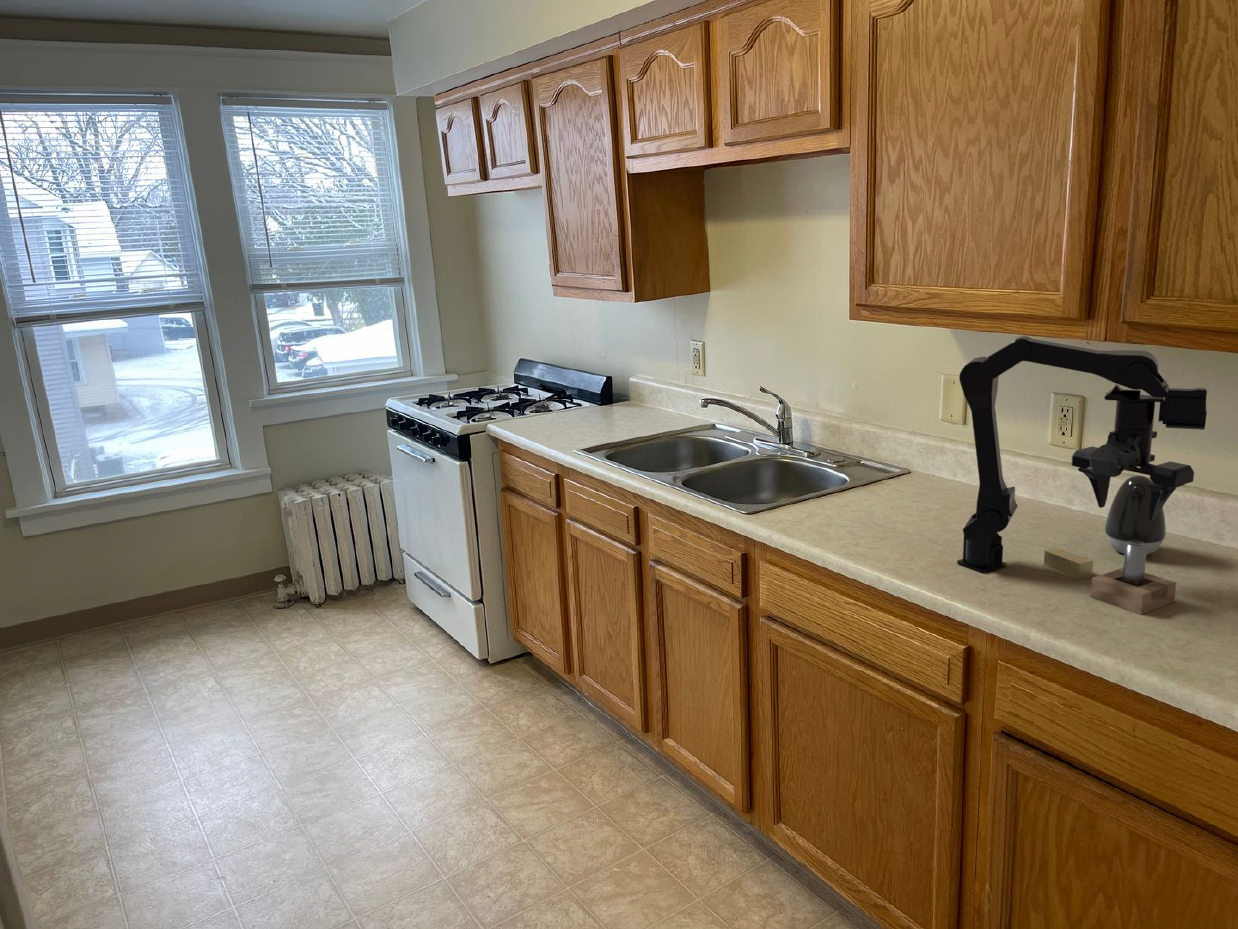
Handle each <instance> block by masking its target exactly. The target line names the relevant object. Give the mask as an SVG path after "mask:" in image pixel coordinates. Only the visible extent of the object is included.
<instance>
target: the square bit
mask: <svg viewBox="0 0 1238 929" xmlns="http://www.w3.org/2000/svg"><path fill="white" fill-rule="evenodd" d="M1043 566H1044V567H1047V568H1049V569H1050V570H1051V569H1052V570H1054V571H1057V572H1059V573H1062V574H1064V575H1067V576H1069V577H1072V578H1074V579H1077V580H1081V579H1087V578H1090V577H1092V576H1093V568H1094V560H1092V559H1089V558H1087V557H1084V556H1081V555H1080V554H1079V555H1078V554H1076V553H1073V552H1070V551H1068V550H1065V549H1062V548H1059V547H1055V548H1051V549H1046V550H1044V555H1043Z"/></svg>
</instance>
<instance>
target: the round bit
mask: <svg viewBox="0 0 1238 929" xmlns="http://www.w3.org/2000/svg"><path fill="white" fill-rule="evenodd" d="M1146 553H1147V544H1146V543H1144V542H1140V541H1127V542H1126V543H1125V554H1124V556H1123V564H1122V566H1123V567H1122V568H1123V576H1122V582H1124V583H1127V584H1130V585H1133V586H1136V587H1140V586H1143V585H1144V574H1145V573H1146V564H1147V562H1146V561H1147V555H1146Z"/></svg>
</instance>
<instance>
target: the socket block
mask: <svg viewBox="0 0 1238 929" xmlns="http://www.w3.org/2000/svg"><path fill="white" fill-rule="evenodd" d="M1122 576H1123V567H1120V568H1118V569H1115V570H1112V571H1109V572H1105V573H1103V574H1100V575H1098V576H1094V577H1091V588H1090V597H1091V598H1092V599H1095V600H1098V601H1101V602H1103V603H1107V604H1110V605H1113V606H1115V607H1119V608H1121V609H1123V610H1127V611H1129V612H1133V613H1135V614H1138V615H1144V614H1146V613H1148V612H1152V611H1153V610H1157V609H1158V608H1162V607H1164V606H1167V605H1168V604H1172V603H1175V599H1176V598H1175V596H1176V587H1177V582H1176V581H1173V580H1170V579H1167V578H1164V577H1160V576H1157V575H1154V574H1151V573H1148V572H1147V573H1146V572H1145V574H1144V585H1143V586H1140V587H1136V586H1133V585H1130V584H1127V583H1124V582H1122Z"/></svg>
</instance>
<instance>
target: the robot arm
mask: <svg viewBox="0 0 1238 929" xmlns="http://www.w3.org/2000/svg"><path fill="white" fill-rule="evenodd" d="M1021 362H1029V363H1033V364H1040V365H1045V366H1048V367H1049V366H1051V367H1055V368H1061V369H1065V370H1066V369H1067V370H1072V371H1075V372H1083V373H1085V374H1086V373H1087V374H1092V375H1095V376H1098V377H1101V378H1103V379H1105V380H1107V381H1108V382H1112V383H1113V384H1115V385H1114V386H1113V387H1112V388H1111V389H1110V390H1109V391H1108V392H1106V393H1105V395H1104V400H1105V401H1116V404H1115V405H1116V406H1115V418H1114V429H1113V431H1108V432H1109V433H1108V435H1107V440H1106V443H1104V444H1101V445H1100V446H1098V447H1097V446H1088V447H1084V448H1080V449H1076V450H1075V451H1074V452H1073V453H1072V456H1071V464H1070V465H1071V467H1075V468H1077V471H1078V472H1080V473H1082V474H1083V475H1085V476H1086V477H1087V478H1088V480H1089V482H1090V485H1091V486H1092V491H1093V494H1094V496H1095V499H1096V502H1097V506H1098V508H1105V507H1106V503H1107V500H1108V495H1109V488H1110V483H1111V478H1116V477H1118V476H1120V475H1121V474H1122V473H1123V472H1124V471H1126V472H1132V473H1137V474H1142V475H1147V476H1149V479H1150V480H1152V482H1153V483H1151V484H1148V487H1149V489H1150V491H1151V498H1150V506H1149V520H1154V519H1155V518H1156V517H1157V515H1158V513H1159V512H1160V510H1161V509H1162V507H1163V508H1164V506H1165V504H1166V502H1167V501H1168V499H1169V498H1170V496H1171V495H1172V494H1173V493H1174V492H1175V491H1176V489H1177V488H1179V487H1183V486H1185V485H1187V484H1191V483H1193V482H1194V476H1195V471H1194V469H1193V467H1192V466H1191V465H1190V464H1186V463H1179V462H1175V461H1167V462H1164V463H1163V462H1162V463H1160V464H1153V463H1151V462H1155V460H1156V459H1155V458H1156V455H1155V454H1152V453H1151V452H1152V441H1153V439H1155V438H1156V439H1157V436H1158V431H1157V430H1154V429H1153V428H1154V422H1155V421H1154V419H1155V411H1156V410H1155V409H1156V403H1159V411H1158V422H1160V423H1161V424H1162V425H1165V429H1167V428H1168V429H1182V430H1202V431H1205V429H1206V428H1205V427H1206V420H1207V414H1208V413H1207V394H1208V390H1207V388H1206V387H1195V388H1179V387H1176V388H1175V387H1174V388H1173V387H1170V386H1169V384H1168V381H1167V380H1165V378H1163V376H1162V375H1161V373H1160V372H1159V367H1160V366H1159V362H1158V359H1157V358H1156V357H1155V356H1154V354H1152V353H1151V352H1150V351H1147V350H1136V349H1135V350H1134V349H1133V350H1132V349H1131V350H1129V349H1128V350H1127V349H1119V350H1118V349H1117V350H1098V349H1092V348H1087V347H1081V346H1076V345H1069V344H1063V343H1059V342H1054V341H1053V342H1052V341H1048V340H1041V339H1036V338H1032V337H1029V336H1026V335H1022V336H1018V337H1016V338H1015V339H1014V340H1013V341H1012V342H1010V343H1009V344H1007V345H1006V346H1004V347H1003V348H1001V349H999V350H997V351H995V352H994V353H992V354H991V355H988V356H978V357H974V358H973V359H972V360H970V361H969V362H967V364H965V365H964V366H963V367H962V369H961V371H960V373H959V378H958V379H959V383H960V387H961V389H962V393H963V397H964V398H965V401H966V403H967V405H968V406H969V410H970V411H971V420H972V429H973V436H974V437H973V438H974V445H975V454H976V462H977V463H976V464H977V471H978V481H979V486H978V493H977V499H976V500H977V501H976V508H975V509H976V510H975V512H974V513H973V514H972V515H971V516H970V518H969V519H968V521H967V522H966V523H965V525H964V527H963V528H962V532H963V546H962V548H963V549H962V558H961V559H958V560H956V564H958V565H961V566H964V567H967V568H969V569H971V570H975V571H978V572H981V573H988V572H990V571H994V570H997V569H1000V568H1003V567H1006V566H1007V562H1006V561H1005V562H1004V561H1003V557H1004V556H1003V552H1004V545H1003V544H1002V543H1003V536H1001V535H1000V534H999V533H1000V532H1002V531H1004V530H1005V529H1006V528H1007V527H1008V525H1009V523H1010V521H1011V520H1012V518H1013V516H1014V515H1015V512H1016V510H1017V508H1018V506H1019V505H1018V504H1017V502H1016V499H1015V498H1016V497H1015V496H1016V486H1010V487H1008V486H1007V484H1006V482H1005V479H1004V475H1003V466H1002V457H1001V449H1000V440H999V431H998V422H997V412H996V401H997V395H998V389H999V379H1000V378H999V377H1000V375H1002V374H1004V373H1005V372H1007V371H1009V370H1010V369H1012V368H1014V367H1016V365H1018V364H1020V363H1021ZM1119 385H1120V386H1123V387H1124V388H1127V389H1123V388H1122V387H1120V386H1119ZM1141 390H1142V391H1144V392H1145V393H1147V394H1141Z"/></svg>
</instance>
